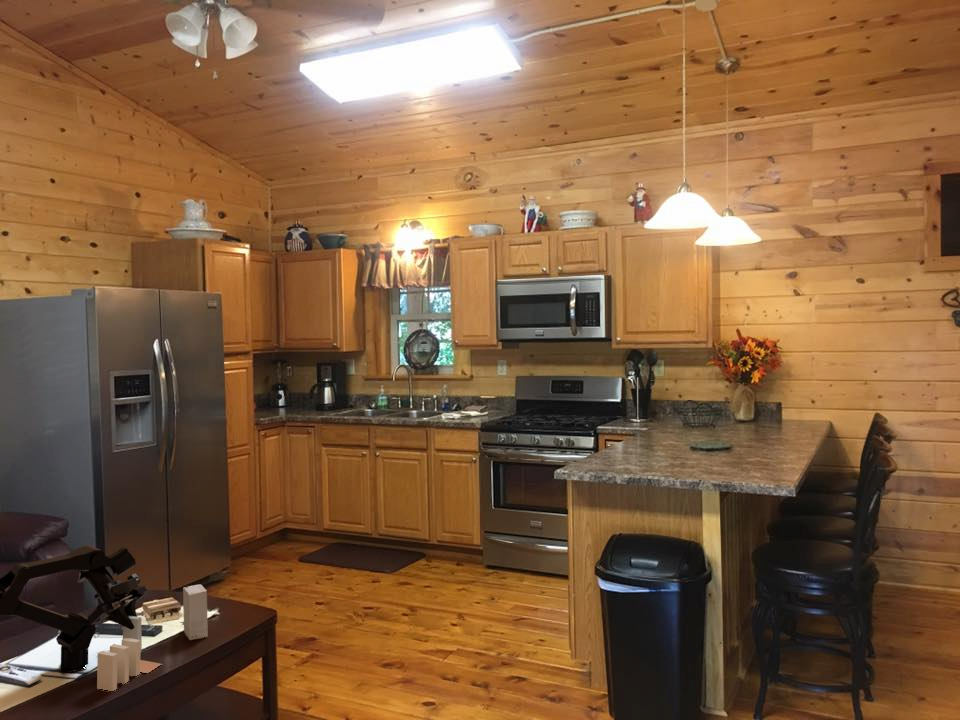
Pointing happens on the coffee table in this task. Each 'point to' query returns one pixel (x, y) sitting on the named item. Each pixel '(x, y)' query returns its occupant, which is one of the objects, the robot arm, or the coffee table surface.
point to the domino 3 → (134, 630)
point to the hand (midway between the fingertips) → (135, 627)
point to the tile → (148, 666)
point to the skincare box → (195, 612)
